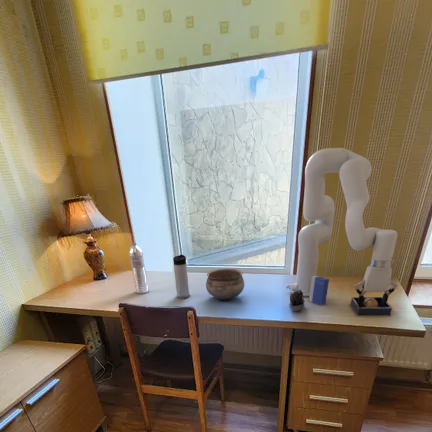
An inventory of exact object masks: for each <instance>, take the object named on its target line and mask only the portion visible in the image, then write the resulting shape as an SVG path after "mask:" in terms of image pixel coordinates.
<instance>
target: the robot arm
mask: <svg viewBox="0 0 432 432" xmlns="http://www.w3.org/2000/svg"><path fill="white" fill-rule="evenodd" d="M372 170H373V169H372V164H371V162H370V160H369V159H368V158H366V157H364V156H362V155H360V154H359V153H355V152H354V151H351V150H350V149H347V148H344V147H328V148H327V147H326V148H321V149H319V150H317V151H315V152H314V153H313V154H312V155H310V157H309V158H308V160H307V162H306V165H305V169H304V195H303V196H304V197H303V207H302V215H303V216H302V217H303V218H304V219H305V221H307V222H314V223H311V224H307V225H304V227H302V228H301V229H300V230H299V232H298V236H297V243H298V254H297V255H298V256H297V268H296V276H295V278H296V279H295V281H294V283H292V284H290V283H289V284H285V288H286V289H288V290H291V293H292V292H295V291H296V290H300V289H301V291H302V293H303V297H310V289H311V282H312V276H316V275H317V273H318V268H319V267H318V266H319V258H320V252H319V247H318V246H319V245H323V244H325V243H327V242H328V241H329V240H330V239H331V237H332V234H333V228H334V219H335V211H336V206H335V201H334V200H333V198H332V197H331V196H330V195H325V194H326V193H325V192H326V181H325V177H324V175H325V174H334V173H337V174H339V175H338V177H339V180H340V184H341V188H342V193H343V196H344V200H345V204H346V213H345V222H344V228H345V234H346V236H347V237H346V238H347V240H348V244H349V245H350V247H351V249H353V250H354V251H358V252H360V251H363V250H366V249H370V248H373V250H372V253H371V259H370V265H367V267H366V270H365V272H364V276H363V279H362V281H360V282H358V283H356V284H354V289H355V291H356V293H357V294H358V297H359V299H358V303H359V304H360V305H362V304H363V299H364V297H365V294H366V293H381V292H383V294H382V297H383V298H382V303H383V304H384V305H385V304H386V302H387V303H388V300H389V297H390V296H391V294H392V293H393V292H394V291H395V290H396V289H397V288H398V286H399V285H398V283H397V282H394V281H392V280H391V279H392V272H393V270H392V265H393V264H395V263H396V260H395V259H393V257H394V252H395V248H396V244H397V240H398V232H397V231H396V230H394V229H382V228H379V227H374V226H373V227H372V226H371V227H370V226H369V227H367V228H365V224H364V211H365V208H366V206H367V205H368V203H369V202H370V198H371V197H370V196H371V195H370V191H369V189H368V185H367V180H369V177H370V176H371V174H372ZM317 276H318V275H317ZM390 286H391V287H390ZM360 287H361V289H360Z"/></svg>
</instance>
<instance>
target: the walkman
mask: <svg viewBox="0 0 432 432" xmlns="http://www.w3.org/2000/svg"><path fill="white" fill-rule="evenodd" d="M329 284H330V279H329V278H328V277H323V276H319V275H316V276H312V282H311V289H310V296H308V298H309V299H308V301H309V302H310V303H314V304H317V305H319V306H322V305H325V304H326V302H327V296H328V289H329Z"/></svg>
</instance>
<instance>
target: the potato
mask: <svg viewBox="0 0 432 432" xmlns="http://www.w3.org/2000/svg"><path fill="white" fill-rule="evenodd" d="M367 297H368V298H366V299H365V300H364V307H378V302H377V301H376V300H375V299H374V298H372V297H373V296H367Z"/></svg>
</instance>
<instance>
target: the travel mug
mask: <svg viewBox="0 0 432 432" xmlns="http://www.w3.org/2000/svg"><path fill="white" fill-rule="evenodd" d="M172 262H173V272H174V280H175V281H174V282H175V288H176V297H177V299H182V300H183V299H188V298H189V297H190V290H189V289H190V288H189V277H188V266H187V256H186V255H185V254H179V255H175V256H174V257H173V258H172Z"/></svg>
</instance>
